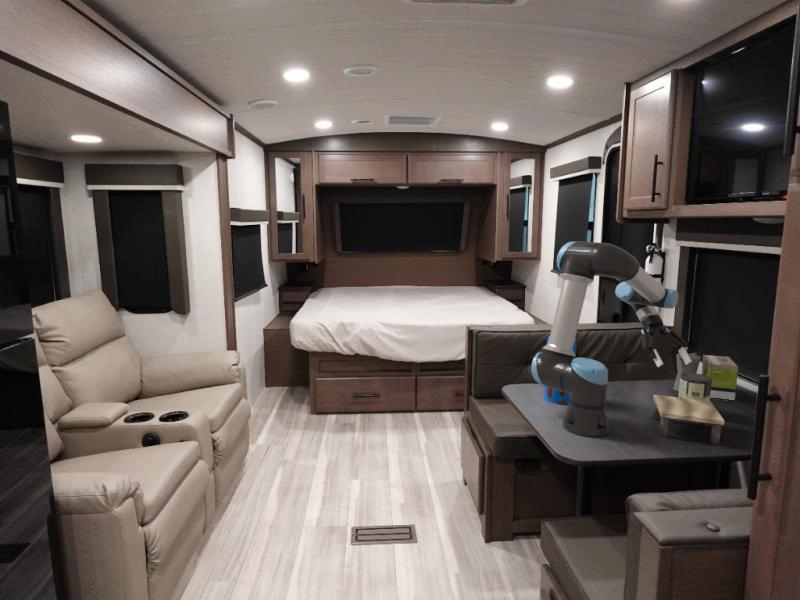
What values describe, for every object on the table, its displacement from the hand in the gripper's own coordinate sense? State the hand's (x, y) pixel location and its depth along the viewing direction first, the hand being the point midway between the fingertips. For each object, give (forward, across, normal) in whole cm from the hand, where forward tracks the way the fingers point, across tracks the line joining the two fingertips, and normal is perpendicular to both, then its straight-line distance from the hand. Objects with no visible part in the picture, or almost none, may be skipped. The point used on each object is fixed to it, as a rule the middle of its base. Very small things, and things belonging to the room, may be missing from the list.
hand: (675, 364), depth 194 cm
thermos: (+1, +42, -21) cm, 47 cm away
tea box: (+9, -27, -14) cm, 31 cm away
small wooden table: (+27, +16, +5) cm, 32 cm away
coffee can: (+18, 0, -4) cm, 19 cm away
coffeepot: (+4, -18, -19) cm, 27 cm away
